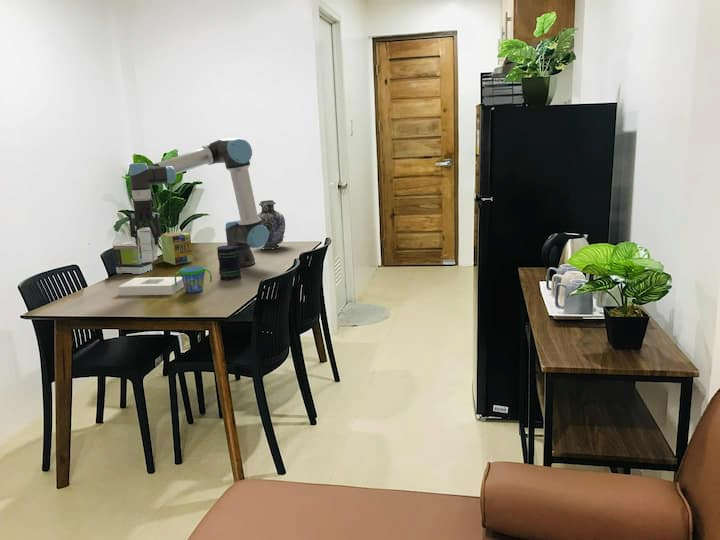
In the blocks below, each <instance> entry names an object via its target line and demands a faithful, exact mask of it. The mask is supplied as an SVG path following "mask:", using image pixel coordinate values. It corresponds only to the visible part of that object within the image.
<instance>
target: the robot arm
mask: <svg viewBox="0 0 720 540" xmlns="http://www.w3.org/2000/svg"><path fill="white" fill-rule="evenodd" d="M252 157H253V149H252V146H251V145H250V142H248V141H247V140H245V139H243V138H240V137H230V138H220V139H217V140H215V141H212V142H211V143H207V144H205V145H202V146H201V148H199V149H195V150H193V151H190V152H186V153H184V154H183V153H182V154H180V155H177V156H174V157H171V158H168V159H165V160H162V161H159V162H156V163H153V164H150V165H148V164H147V163H146V162H138V163H137V162H136V163H130V164H129V166H128V172H129V173H128V174H129V180H130V186H131V188H130V189H131V196H132V199H133V201H132V204H133V209H134V211H133V213H130V214H128V215H127V217H128V221H129V232H130V234H129V235H130V237H131V238H134V240H135V243H136V245H138V248H139V243H138V234H137V230H139V229H141V228H143V227H142V225H143V223H144V222H145V223H146V224H147V225H148V227H149V228H150V229H151V232H152V235H153V238H152V244H153V252H154V253H156V252H157V253H158V250H159V249H158V245H159V244H160V242H159V241H160V240H159V237H161V235H162V234H163V232H162V225H161V221H160V220H161V219H160V218H161V217H160V216H161V213H159V212H154V210H153V203H152V200H151V198H152V194H151V186H152V185H165V184H172V183H175V182H176V179H177V174H181V173H183V172H187V171H190V170H193V169H195V168H199V167H202V166H205V165H208V166H211V165H215V164H225V168H226V170H227V171H229V172H230V177H231V181H232V186H233V192H234V196H235V201H236V204H237V205H236V206H237V210H238V214H239V220H238V219H237V220H232V221H228V222H226V223H225V237H226V245H237V246H238V251H239V266H240V268H241V267H242V268H243V266H245V267H248V265H250V266H252V264H253V265H255V264H256V259H255V256H254V253H253V251H252V249H259V248H262V247H263V246H265V244H266V242H267V240H268V237H269V232H268V229H267V228H266V227H265V226H264V225H263V224H262V219H261V218H260V217H258V215H257V214H258V211H257V206H256V201H255V195H254V191H253V187H252V183H251V182H252V181H251V179H250V173H249V167H250V166H251V163H250V162H251V158H252ZM135 218H136V220H135ZM152 218H154V220H153V219H152ZM251 248H252V249H251ZM139 253H140V252H139ZM254 263H255V264H254Z"/></svg>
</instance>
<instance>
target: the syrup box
mask: <svg viewBox="0 0 720 540" xmlns="http://www.w3.org/2000/svg"><path fill="white" fill-rule="evenodd" d="M137 234H138V243H139V252H140V261H141V262H152V263H153V262H155V261H157V260H158V259H159V257H158V252H156V253H154V252H153V244H152V238H153V235H152V232H151V229H150V228H149V226H148V227H141V229H139V230H137Z"/></svg>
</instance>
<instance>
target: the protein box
mask: <svg viewBox="0 0 720 540" xmlns="http://www.w3.org/2000/svg"><path fill="white" fill-rule="evenodd" d="M160 238H161V239H160V241H161V247H162V257H163V262H164V263H169V264H170V265H174V266H177V265H178V264H179V265H184V264H188V263H189V264H190V263H193V262H194V256H193V247H192V239H191V233H188V232H184V231H183V232H182V231H171V232H165V233H162V235H161V236H160ZM183 263H184V264H183Z"/></svg>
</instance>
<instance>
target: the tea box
mask: <svg viewBox="0 0 720 540" xmlns="http://www.w3.org/2000/svg"><path fill="white" fill-rule="evenodd" d="M112 248H113V255H114V262H115V269H116V274H122V273H132V274H131V275H142V273H143V274H145V272H146V273H148V272H147V271H149V272H151V271H153V262H141V261H140V253H139V248H138V245H136V242H129V241H128V242H127V241H126V242H123V243H118V244H114V245H112ZM150 270H151V271H150Z"/></svg>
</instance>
